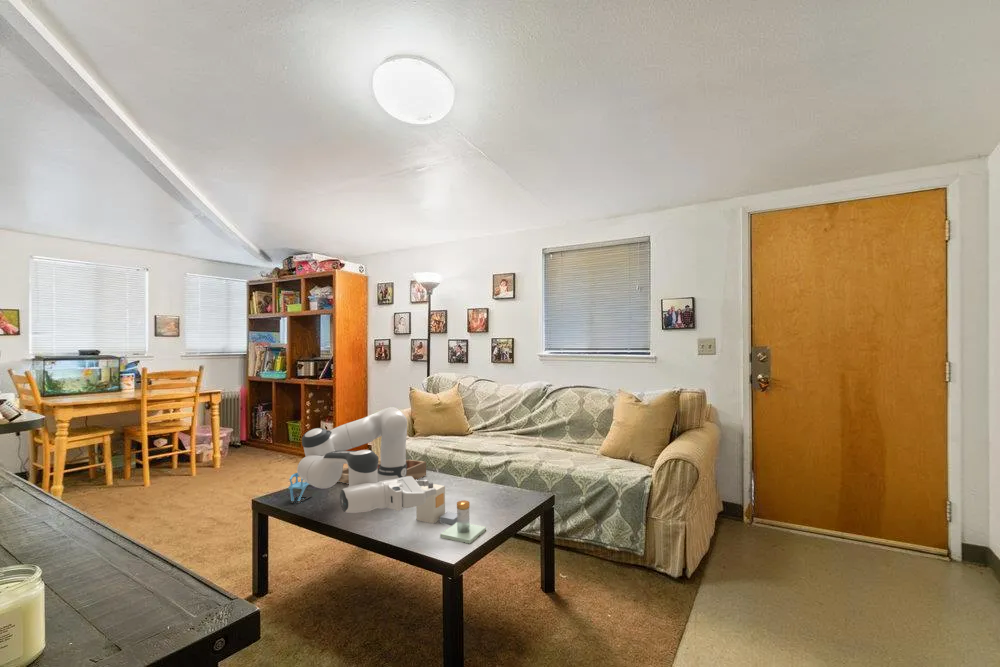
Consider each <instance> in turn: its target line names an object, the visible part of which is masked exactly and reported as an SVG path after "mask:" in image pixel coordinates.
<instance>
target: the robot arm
mask: <svg viewBox="0 0 1000 667" xmlns="http://www.w3.org/2000/svg"><path fill="white" fill-rule="evenodd" d="M407 436H408V418H407V417H406V415H405V414H404V413H403V411H401V410H400V409H399V408H397V407H396V406H395V407H393V406H389V407H386V408H383V409H381V410H379V411H376V412H374V413H372V414H369V415H367V416H364V417H363V418H359V419H357V420H353V421H350V422H347V423H344V424H340V425H339V426H336V427H334V428H332V429H330V430H329V429H326V428H323V427H316V428H311V429H310V430H308V431H307V432H305V433H304V434H303V436H302V437H301V445H302V447H303V450H304V452H303V453H304V455H305V457H303V458H301V459H300V461H299V463H298V464H297V468H296V471H297V472H296V473H298V475H299V478H300V479H301V478H302V479H303V482H307V483H308V484H309V485H310V486H313V487H315V488H317V489H322V490H323V489H329V488H331V487H333V486H334V485H336V484H338V483H337V482H338V480H339V479H340V477H341V475H342V471H343V470H344V464H345V465H347V468H348V470H349V485H348V486H347V487H343V488H342V489H341V490H340V493H339V503H340V507H341V510H342V511H343V512H344V513H348V514H357V513H365V512H371V511H373V510H376V509H382V510H384V509H391V510H393V511H395V512H400V511H402V510H403V509H408V508H409V509H410V508H414V507H416V506H419V505H422V504H424V503H425V502H426V498H427V497H429V496H431V495H435V494H436V489H435V488H430V490H423V489H422V488H421V486H428V485H429V483H430V481H429V480H428V479H418V480H414V478H413V477H412V476H407V477H406V473H407V463H406V460H407V459H406V457H407V453H406V450H407V449H406V448H407V447H406V446H407V445H406V444H407V438H408V437H407ZM380 437H381V439H380V465H379V466H378V464H379V456H378V455H377V454H376V453H375V452H374V451H373V450H370V449H360V450H351V449H354V448H357V447H361V446H363V445H366V444H370V443H371V442H373V441H375V440H376V439H378V438H380ZM378 468H379V469H378Z"/></svg>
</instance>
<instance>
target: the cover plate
mask: <svg viewBox="0 0 1000 667" xmlns="http://www.w3.org/2000/svg"><path fill="white" fill-rule="evenodd" d="M439 523H440V524H445V525H450V526H452V525H454V524H455V523H457V512H455V511H454V512H453V511H445V514H444V515H442V516H441V517H440V520H439Z"/></svg>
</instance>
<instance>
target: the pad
mask: <svg viewBox="0 0 1000 667" xmlns="http://www.w3.org/2000/svg"><path fill="white" fill-rule="evenodd" d="M485 530H486V531H487V527H486V526H483V525H478V524H472V523H470V531H469V532H467V533H459V532H458V531H457V523H455V524H454V525H450V526H449V527H448V528H446V530H443V531H442V532H441V533H440V535H439V537H440V539H445V538H446V539H447V540H451V541H454V540H455V541H454V542H459V541H460V542H459V543H463V542H465V543H464V544H468V543H469V544H472V541H473V540H474V541H475V540H476V539H478V538H479V537H480V536H481V535H482V534H483V533H484V531H485ZM486 531H485V532H486ZM479 535H480V536H479ZM478 536H479V537H478ZM474 541H473V542H474Z"/></svg>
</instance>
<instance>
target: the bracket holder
mask: <svg viewBox="0 0 1000 667" xmlns="http://www.w3.org/2000/svg"><path fill="white" fill-rule="evenodd" d="M406 463H407V473H406V477H407V476H412V477H413V478H414V480H416V479H418V480H420V479H421V477H422V478H424V477H426V476H427V461H423V460H415V459H406ZM423 476H424V477H423ZM419 478H420V479H419Z"/></svg>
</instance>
